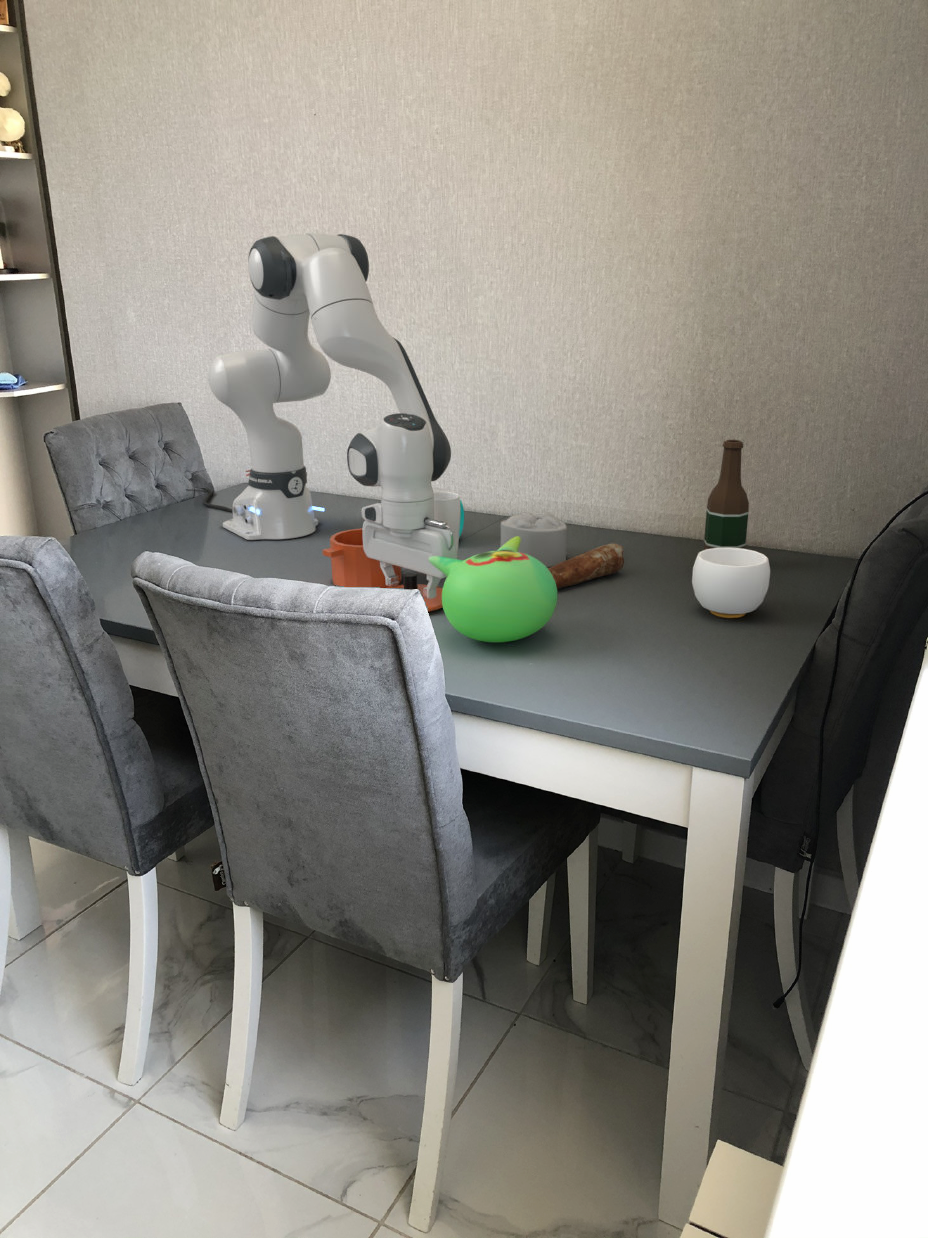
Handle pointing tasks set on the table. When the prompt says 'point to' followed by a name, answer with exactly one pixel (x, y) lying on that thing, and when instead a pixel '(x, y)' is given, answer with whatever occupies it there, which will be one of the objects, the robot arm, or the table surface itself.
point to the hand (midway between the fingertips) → (410, 591)
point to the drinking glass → (448, 511)
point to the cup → (730, 580)
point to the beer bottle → (727, 503)
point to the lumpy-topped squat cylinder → (537, 536)
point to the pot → (354, 562)
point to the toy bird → (497, 593)
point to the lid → (411, 583)
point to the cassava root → (588, 565)
